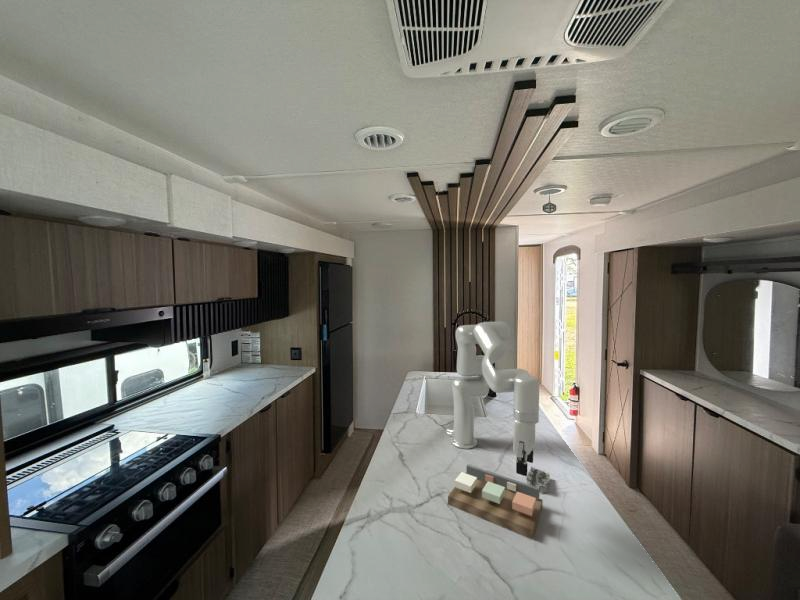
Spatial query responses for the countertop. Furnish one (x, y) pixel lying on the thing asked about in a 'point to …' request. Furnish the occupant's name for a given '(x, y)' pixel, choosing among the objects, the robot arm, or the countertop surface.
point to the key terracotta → (524, 503)
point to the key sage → (493, 492)
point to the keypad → (494, 511)
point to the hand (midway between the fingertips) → (524, 467)
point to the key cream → (465, 482)
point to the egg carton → (538, 479)
